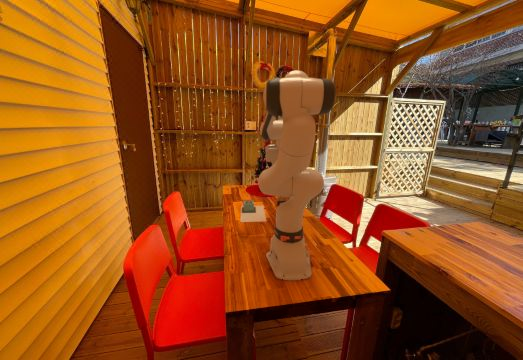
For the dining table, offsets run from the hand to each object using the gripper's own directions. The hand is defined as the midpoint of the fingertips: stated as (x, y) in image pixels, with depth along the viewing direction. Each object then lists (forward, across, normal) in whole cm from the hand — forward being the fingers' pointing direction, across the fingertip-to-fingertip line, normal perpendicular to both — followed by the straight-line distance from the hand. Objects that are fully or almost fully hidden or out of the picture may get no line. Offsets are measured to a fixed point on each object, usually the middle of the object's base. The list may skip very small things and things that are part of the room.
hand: (283, 169), depth 119 cm
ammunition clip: (+31, +5, +20) cm, 38 cm away
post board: (+31, -17, +8) cm, 36 cm away
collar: (+29, -19, +13) cm, 37 cm away
